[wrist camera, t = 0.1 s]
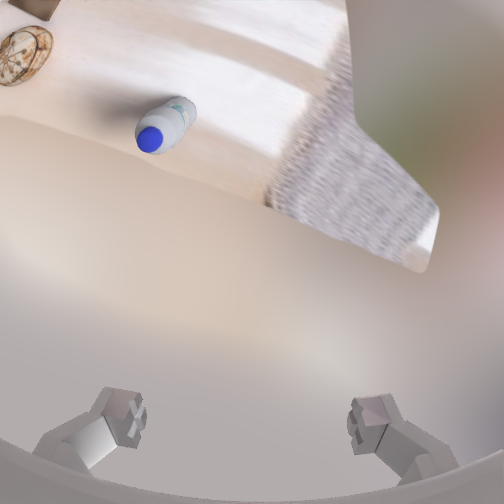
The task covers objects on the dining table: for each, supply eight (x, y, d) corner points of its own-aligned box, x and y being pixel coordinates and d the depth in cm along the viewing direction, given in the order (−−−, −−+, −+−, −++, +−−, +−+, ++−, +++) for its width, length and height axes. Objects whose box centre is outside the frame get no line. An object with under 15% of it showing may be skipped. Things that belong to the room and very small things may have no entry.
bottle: (194, 132, 55) (165, 171, 39) (161, 123, 53) (119, 159, 37) (204, 99, 51) (177, 124, 35) (169, 90, 50) (127, 112, 34)
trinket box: (64, 35, 41) (42, 37, 34) (35, 95, 47) (12, 104, 41) (28, 14, 35) (4, 16, 29) (1, 72, 42) (-21, 79, 36)
